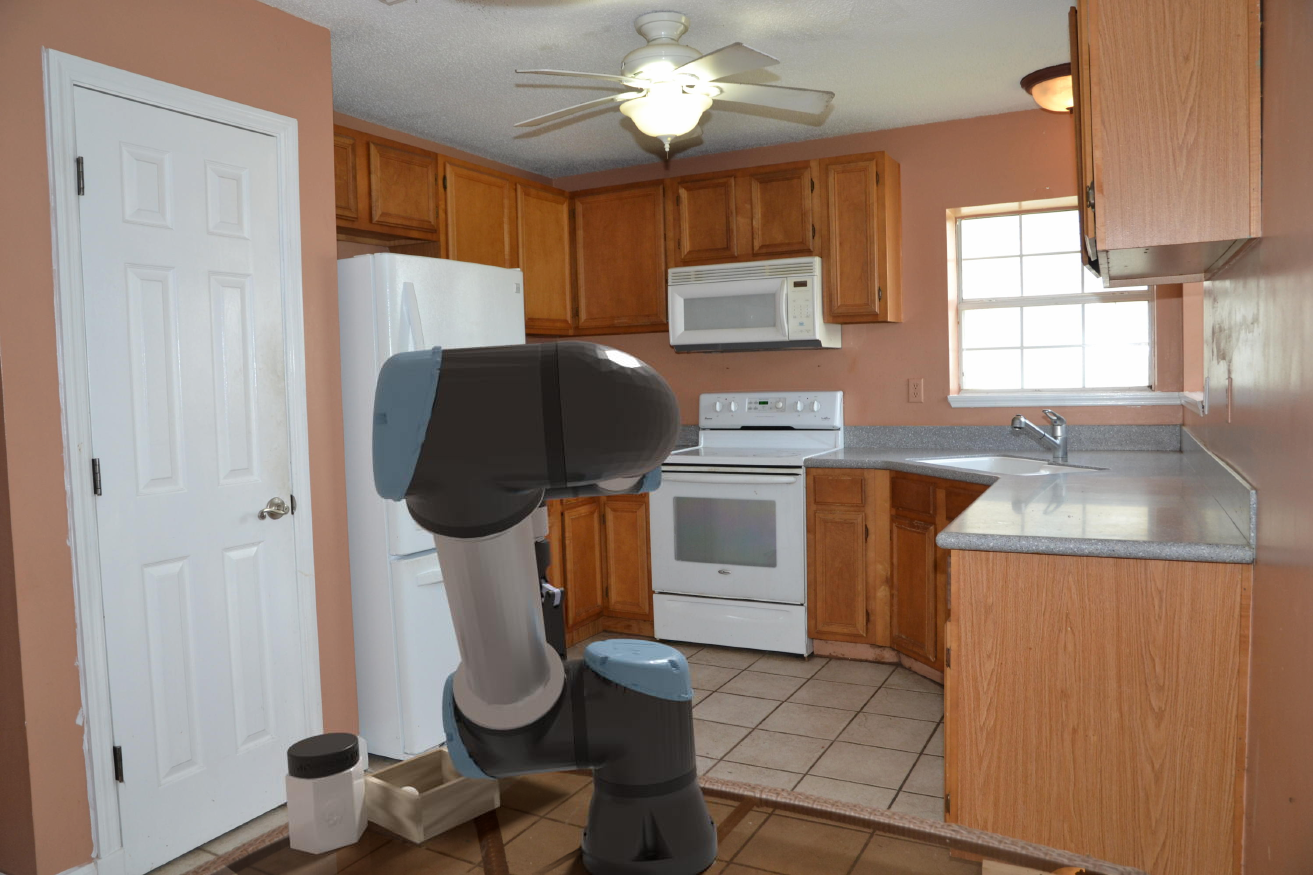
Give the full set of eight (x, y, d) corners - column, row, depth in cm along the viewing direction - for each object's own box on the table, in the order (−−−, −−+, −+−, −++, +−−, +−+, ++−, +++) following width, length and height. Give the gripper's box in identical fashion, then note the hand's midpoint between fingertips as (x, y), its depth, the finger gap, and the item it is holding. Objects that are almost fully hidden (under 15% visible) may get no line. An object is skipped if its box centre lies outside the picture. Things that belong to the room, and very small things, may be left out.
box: (500, 811, 113) (497, 764, 113) (418, 849, 104) (414, 799, 104) (445, 789, 121) (442, 746, 121) (364, 823, 112) (361, 776, 112)
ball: (425, 810, 113) (423, 785, 113) (403, 820, 110) (401, 794, 110) (411, 804, 115) (409, 780, 115) (389, 814, 113) (387, 789, 112)
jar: (297, 867, 102) (289, 763, 101) (284, 841, 109) (277, 744, 108) (377, 843, 107) (369, 743, 106) (359, 819, 113) (352, 726, 113)
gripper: (588, 538, 116) (600, 714, 117) (501, 532, 128) (512, 692, 129) (544, 547, 111) (557, 732, 111) (458, 540, 123) (470, 707, 123)
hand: (533, 710), depth 120 cm, fingers closed on lid, 5 cm apart
